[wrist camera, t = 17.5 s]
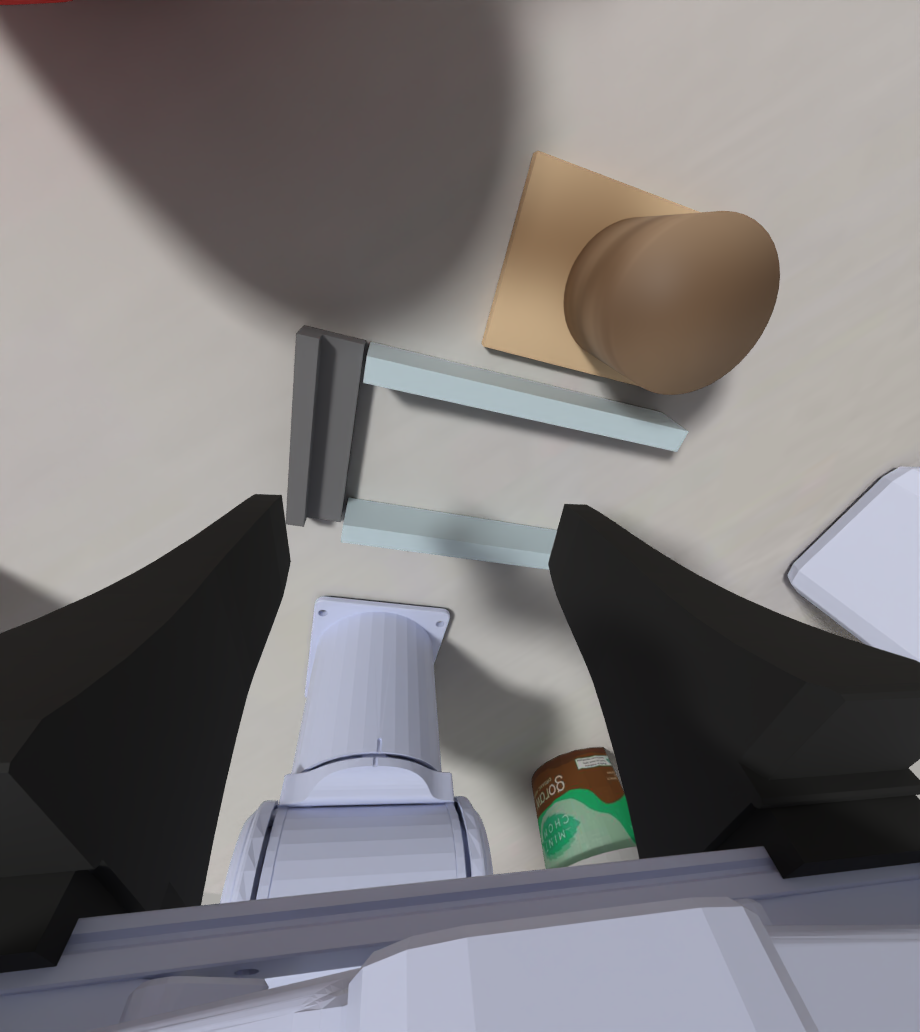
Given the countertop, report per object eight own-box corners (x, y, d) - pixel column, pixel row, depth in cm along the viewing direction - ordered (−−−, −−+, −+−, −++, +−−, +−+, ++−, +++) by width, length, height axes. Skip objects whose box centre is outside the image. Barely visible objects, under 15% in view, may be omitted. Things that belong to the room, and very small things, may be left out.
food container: (548, 735, 36) (591, 883, 28) (610, 738, 38) (669, 879, 30) (501, 803, 43) (525, 941, 35) (557, 804, 44) (592, 935, 36)
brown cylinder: (668, 357, 19) (742, 392, 15) (556, 360, 18) (600, 397, 14) (704, 217, 16) (809, 211, 12) (573, 216, 15) (634, 210, 11)
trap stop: (342, 513, 22) (338, 531, 21) (292, 505, 21) (285, 524, 20) (365, 340, 18) (362, 349, 16) (304, 325, 17) (296, 333, 16)
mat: (662, 389, 20) (669, 394, 20) (481, 343, 18) (483, 346, 18) (743, 232, 17) (753, 232, 16) (533, 153, 15) (537, 150, 14)
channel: (589, 549, 25) (605, 577, 23) (346, 513, 22) (340, 542, 20) (661, 412, 21) (688, 431, 19) (370, 341, 18) (366, 355, 16)
